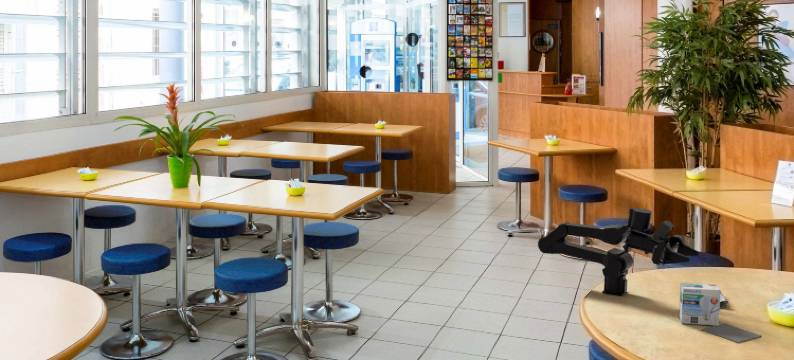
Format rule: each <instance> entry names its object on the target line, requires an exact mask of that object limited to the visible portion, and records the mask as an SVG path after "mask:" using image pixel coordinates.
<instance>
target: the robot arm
mask: <svg viewBox="0 0 794 360" xmlns="http://www.w3.org/2000/svg"><path fill="white" fill-rule="evenodd" d="M628 214H629V215H628V221H627V223H626V224H612V225H611V224H610V225H604V226H601V225H591V224H585V223H584V224H583V223H573V222H569V221H565V222H563V223H559V224H558V226H557V227H556V228H554V230H552V231H551V232H550V233H549V234H547V235H544V236H542V237H541V238H539V239H538V242H537V247H538V249H539V251H540V252H541V253H542V254H548V255H567V256H569V257H570V256H571V257H573V258H578V259H582V260H586V261H589V262H592V263H596V264H600V265H602V267H603V268H602V269H601V271H602V275H603V276H604V279H603V280H604V281H603V282H604V283H603V290H602V291H601V293H602V294H606V295H613V296H619V297H620V296H622V297H623V295H624V294H626V292H627V291H628V279H627V274H626V273H628V271H629V269H631V268H632V267H633V265H634V258H633V256H632V254H631V253H630V252H632V250H637V251H640V252H644V254H645V255H649V254H651V258H650V259H651V262H652V263H653V265H656V266H657V265H658V266H660V265H671V264H680V263H689V262H691V258H690V257H697V256H700V251H698V250H697V249H695V248H693V247H691V246H690V245H688V244H687V243H686V242H685V240H684V239H685V238H684V237H683V235H679V234H674V235H672V236H671V237H670V236H669V235H670V234H671V232H672V230H674V229H675V225H674V224H673V223H672V221H668V220H664V221H662V222H660V225H658V228H657V229H656V231H655V233H652V234H650V233H649V234H647V233H644V232H645V231H647V230H649V229H650V226H651V220H652V214H653V211H652V210H650V209H647V208H639V207H638V208H637V207H631V208H629V213H628ZM568 236H571V237H572V236H573V237H582V238H588V239H597V240H599V241H602V242H604V243H606V244H609V245H613V246H617V245H619V244H622V243H623V242H625V245H623V246H622V248H623V249H619V248H617V247H612V248H611V249H609V250H607V251H605V250H601V249H596V248H594V247H589V246H585V245H582V244H578V243H574V242H569V241H568V240H566V238H567V237H568Z"/></svg>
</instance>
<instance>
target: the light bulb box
mask: <svg viewBox="0 0 794 360" xmlns="http://www.w3.org/2000/svg"><path fill="white" fill-rule="evenodd" d="M679 289H680V291H679V310H678V311H679V312H678V313H679V314H678V318H679V320H680V323H681V324H687V325H704V326H719V324H720V309H721V307H720V302H721V299H720V294H721V293H722V291H721V289H720V287H719V285H718V284H717V283H716V284H715V283H699V282H698V283H696V282H694V283H693V282H680V288H679Z"/></svg>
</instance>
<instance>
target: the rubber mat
mask: <svg viewBox="0 0 794 360" xmlns="http://www.w3.org/2000/svg"><path fill="white" fill-rule="evenodd" d="M701 331H704V332H706V333H708V334H712V335H714V336H717V337H720V338H723V339H726V340H728V341H731V342H734V343H736V344H741V343H743V342H747V341H751V340H755V339H757V338H761V337H762V334H758V333H755V332H753V331H749V330H747V329H744V328H741V327H738V326H734V325H732V324H729V323H726V322H723V323H719V326H715V325H710V326H708V327H704V328H703V327H702V328H701Z"/></svg>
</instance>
